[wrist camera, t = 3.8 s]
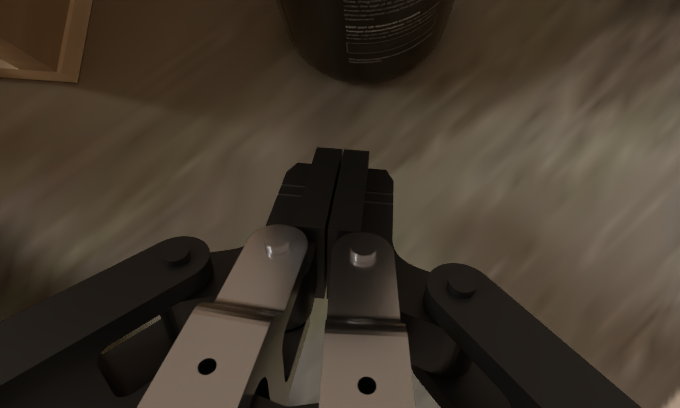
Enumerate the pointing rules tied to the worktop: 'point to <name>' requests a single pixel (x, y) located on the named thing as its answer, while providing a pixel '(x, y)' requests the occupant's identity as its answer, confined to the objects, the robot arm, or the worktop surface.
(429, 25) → the supplement bottle
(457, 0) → the worktop surface
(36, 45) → the oak screen
